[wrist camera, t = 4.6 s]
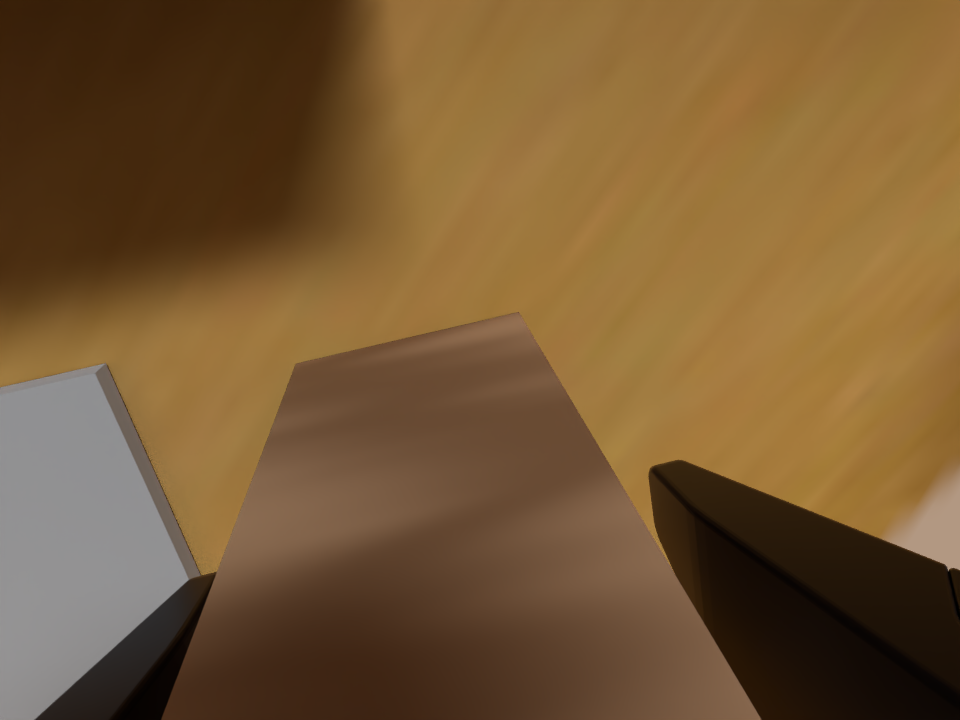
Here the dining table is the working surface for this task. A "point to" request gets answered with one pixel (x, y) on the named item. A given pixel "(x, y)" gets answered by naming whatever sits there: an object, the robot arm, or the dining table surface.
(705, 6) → the dining table surface
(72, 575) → the mat
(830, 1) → the dining table surface
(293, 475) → the brown rectangular block
